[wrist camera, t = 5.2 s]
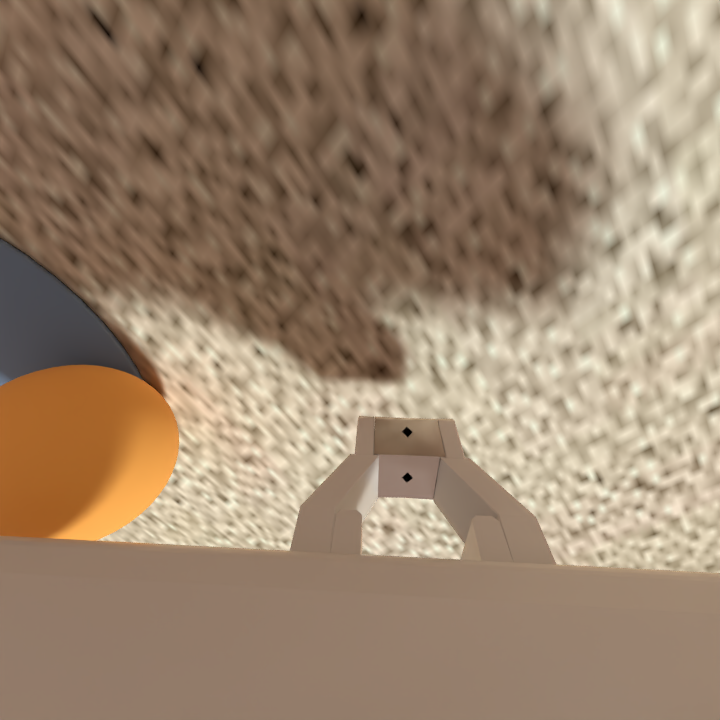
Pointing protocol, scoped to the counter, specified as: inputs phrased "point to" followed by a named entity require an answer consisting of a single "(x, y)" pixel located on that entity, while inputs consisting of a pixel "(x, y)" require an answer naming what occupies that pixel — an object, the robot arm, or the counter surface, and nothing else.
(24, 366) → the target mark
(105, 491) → the ball
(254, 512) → the counter surface
